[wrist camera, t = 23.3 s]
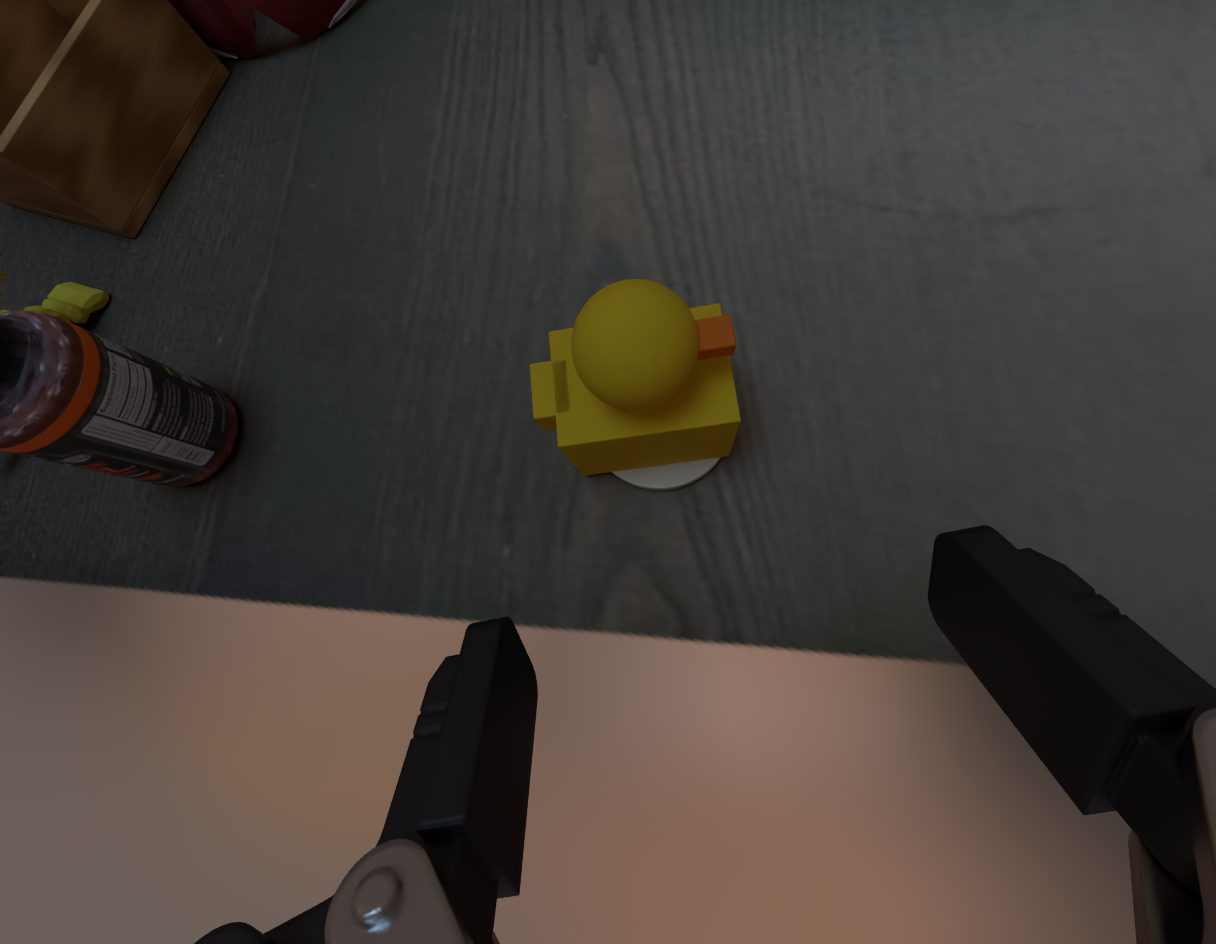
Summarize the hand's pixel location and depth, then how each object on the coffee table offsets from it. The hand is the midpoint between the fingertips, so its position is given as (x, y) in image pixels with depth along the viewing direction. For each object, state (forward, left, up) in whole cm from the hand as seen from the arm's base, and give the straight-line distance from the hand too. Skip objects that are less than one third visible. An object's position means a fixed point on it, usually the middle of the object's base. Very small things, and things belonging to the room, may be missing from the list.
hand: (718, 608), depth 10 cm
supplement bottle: (-1, +29, -14) cm, 32 cm away
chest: (+17, +46, -14) cm, 51 cm away
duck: (+8, +5, -13) cm, 16 cm away
